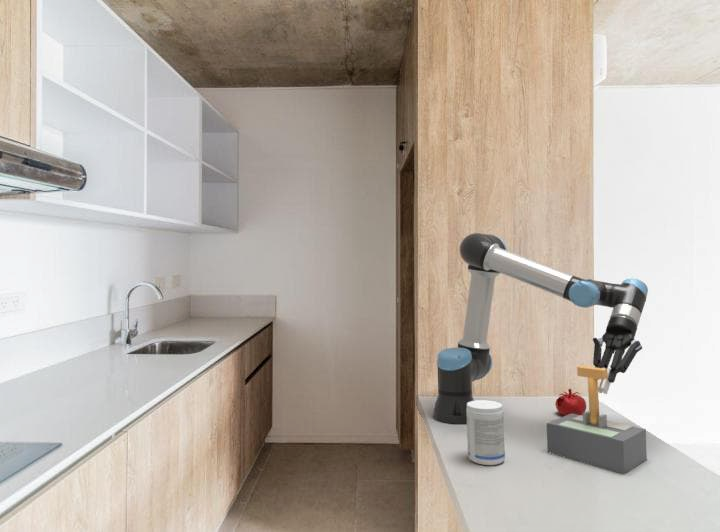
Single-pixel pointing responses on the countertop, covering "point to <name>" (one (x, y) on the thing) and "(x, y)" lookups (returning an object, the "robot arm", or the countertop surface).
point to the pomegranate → (570, 404)
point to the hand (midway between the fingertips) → (601, 390)
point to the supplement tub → (485, 432)
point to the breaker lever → (593, 388)
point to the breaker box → (597, 442)
